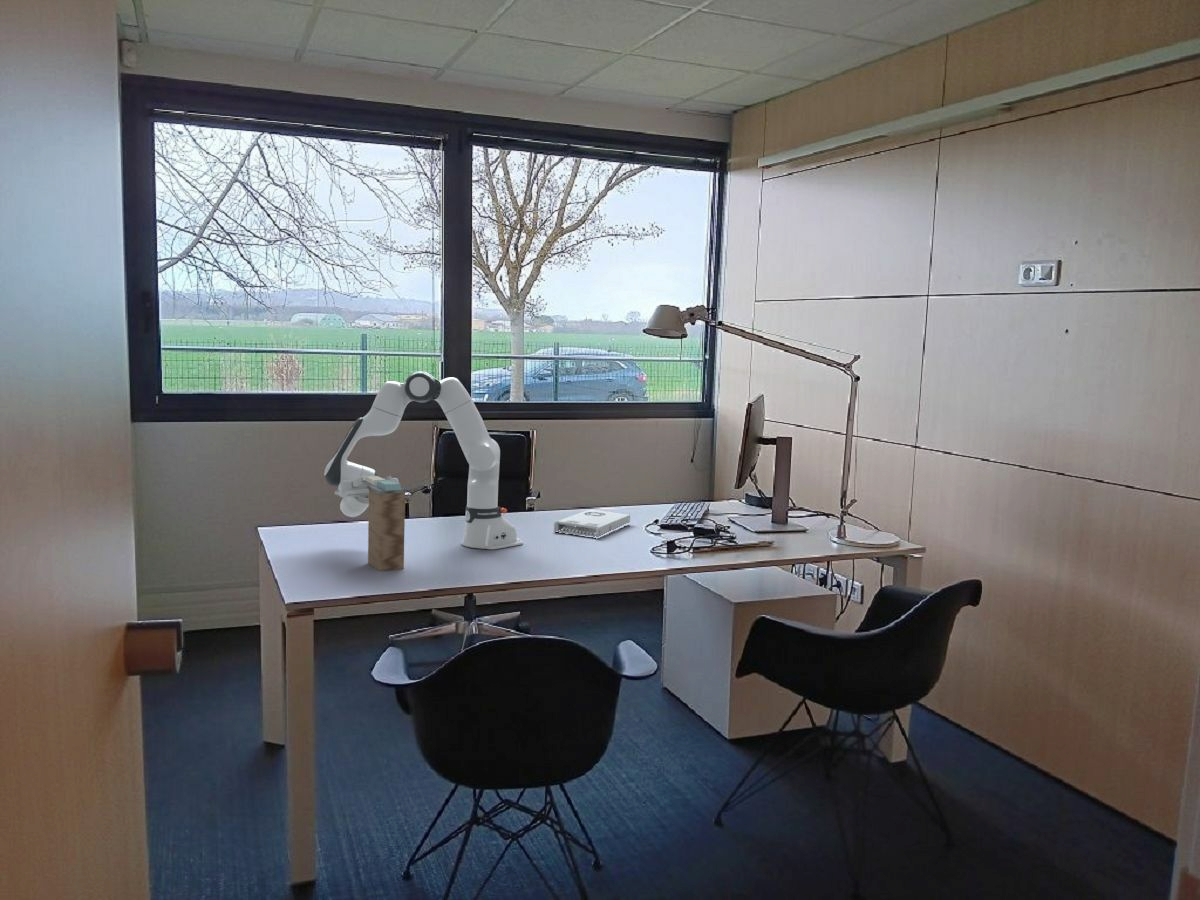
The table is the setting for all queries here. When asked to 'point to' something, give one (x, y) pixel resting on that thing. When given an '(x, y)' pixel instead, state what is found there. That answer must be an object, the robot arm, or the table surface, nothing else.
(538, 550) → the table surface
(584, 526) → the power supply unit
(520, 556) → the table surface
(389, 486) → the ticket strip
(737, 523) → the table surface
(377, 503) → the walnut stand
